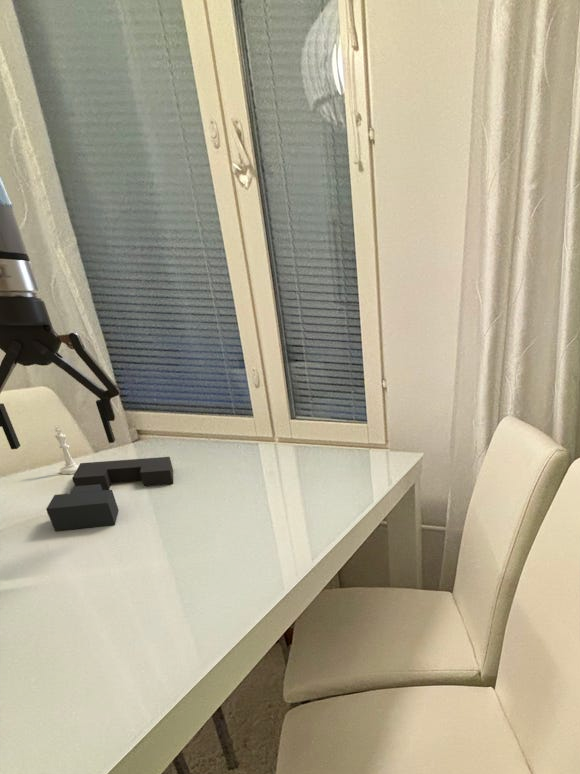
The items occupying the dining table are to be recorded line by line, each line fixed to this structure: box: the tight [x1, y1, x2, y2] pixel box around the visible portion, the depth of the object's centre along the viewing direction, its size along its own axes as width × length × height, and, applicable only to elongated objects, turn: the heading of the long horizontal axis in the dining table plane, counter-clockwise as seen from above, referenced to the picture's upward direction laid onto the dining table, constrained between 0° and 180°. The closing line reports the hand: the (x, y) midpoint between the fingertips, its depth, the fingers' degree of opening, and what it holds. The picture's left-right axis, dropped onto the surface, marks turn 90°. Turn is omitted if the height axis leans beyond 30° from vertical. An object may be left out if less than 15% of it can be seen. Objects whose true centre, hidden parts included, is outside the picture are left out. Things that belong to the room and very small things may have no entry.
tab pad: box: [46, 484, 119, 532], centre depth 100 cm, size 9×14×4 cm, turn 26°
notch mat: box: [71, 456, 174, 490], centre depth 122 cm, size 18×14×3 cm
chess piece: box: [54, 425, 79, 475], centre depth 125 cm, size 5×5×10 cm
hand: (65, 444), depth 92 cm, fingers open, 13 cm apart
